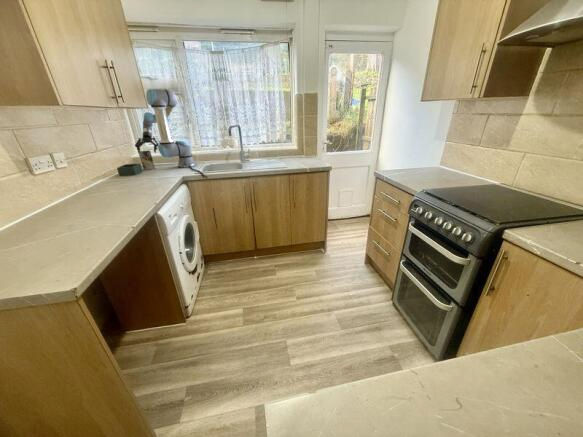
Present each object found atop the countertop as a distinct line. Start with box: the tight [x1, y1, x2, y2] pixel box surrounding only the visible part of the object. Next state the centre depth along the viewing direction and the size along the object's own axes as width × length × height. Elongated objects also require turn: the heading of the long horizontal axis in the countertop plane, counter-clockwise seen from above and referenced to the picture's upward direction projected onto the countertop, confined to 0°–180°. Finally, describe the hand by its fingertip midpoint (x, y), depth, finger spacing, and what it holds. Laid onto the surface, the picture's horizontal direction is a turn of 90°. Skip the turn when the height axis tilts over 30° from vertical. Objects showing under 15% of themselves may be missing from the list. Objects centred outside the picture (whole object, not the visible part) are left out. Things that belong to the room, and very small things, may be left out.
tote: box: [116, 163, 143, 177], centre depth 209 cm, size 15×13×7 cm
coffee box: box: [137, 150, 156, 171], centre depth 222 cm, size 9×6×16 cm
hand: (146, 152), depth 226 cm, fingers open, 13 cm apart
